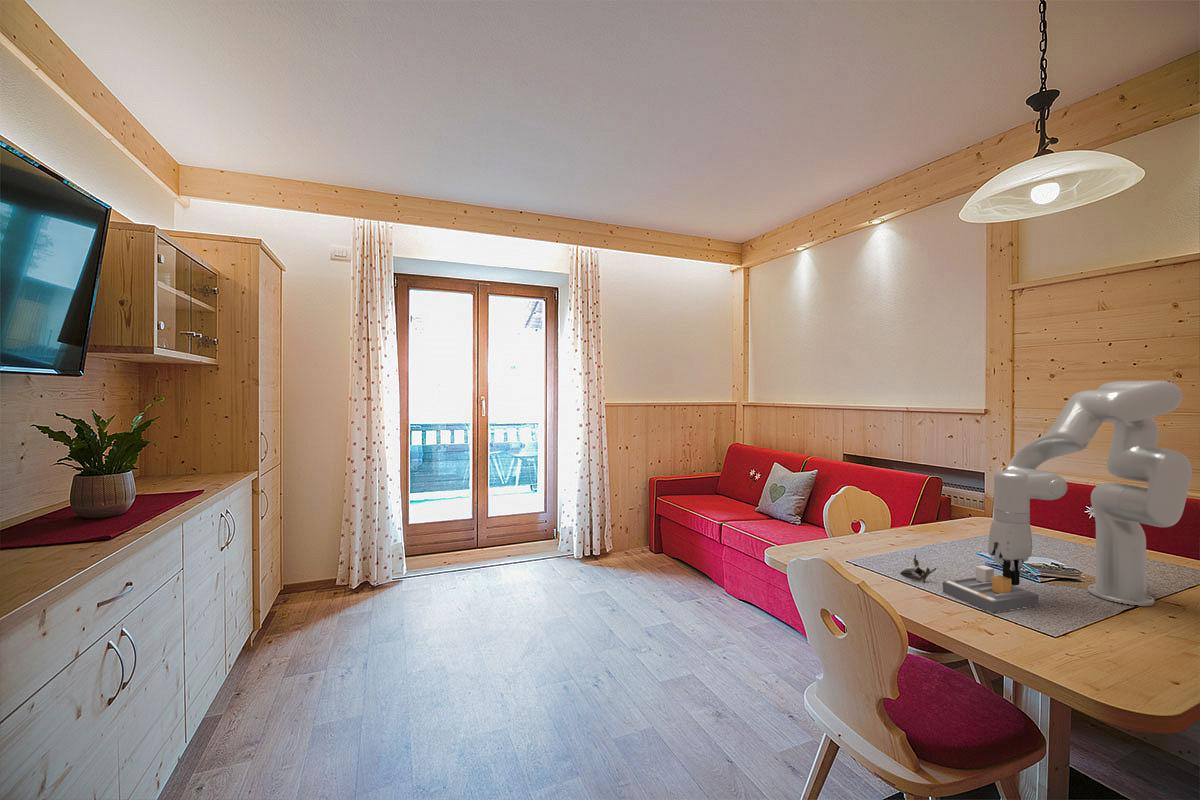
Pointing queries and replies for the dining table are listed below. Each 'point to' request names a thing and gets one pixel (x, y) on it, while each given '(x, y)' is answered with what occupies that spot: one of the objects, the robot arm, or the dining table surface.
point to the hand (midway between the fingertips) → (1011, 583)
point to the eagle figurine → (918, 570)
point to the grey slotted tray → (989, 595)
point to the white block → (984, 573)
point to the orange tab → (1001, 584)
